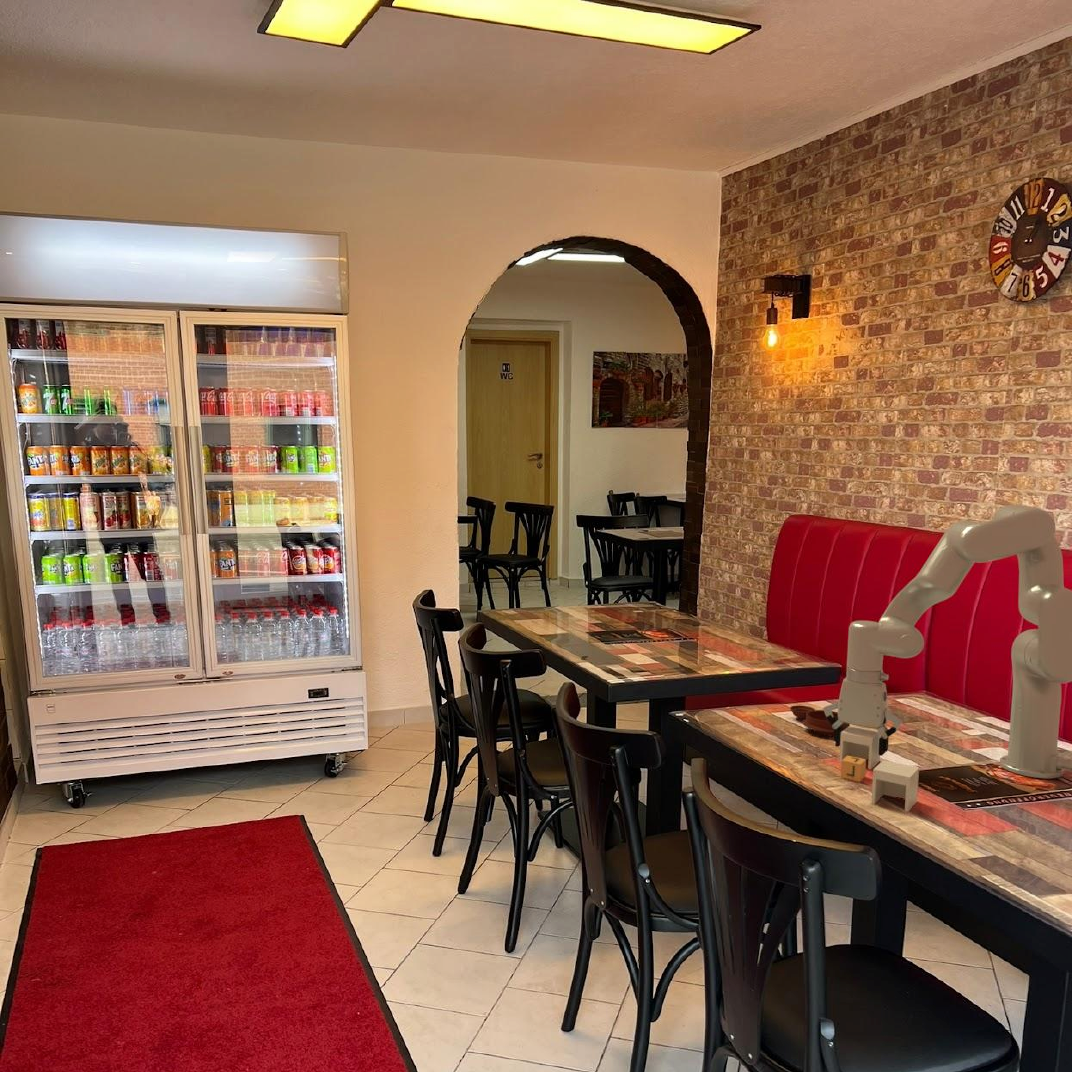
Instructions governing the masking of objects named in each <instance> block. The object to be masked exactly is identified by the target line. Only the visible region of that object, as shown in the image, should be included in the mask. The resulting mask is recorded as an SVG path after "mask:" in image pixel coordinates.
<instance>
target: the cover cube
mask: <svg viewBox="0 0 1072 1072" xmlns="http://www.w3.org/2000/svg"><path fill="white" fill-rule="evenodd" d="M880 738H881V735H880V733H879V732H878V731H877V729H873V728H868V727H863V726H857V725H852V724H850V726H849V727H848V728H846V729H845V730H843V731H842V732H841V738H840V746H839V764H842V760H843V759H844V758H845V757H846V756H847V755H848V756H853V757H857V758H862V759H866V760H868V761H867V762H868V763H867V764H868V765H867V769H868V770H873V769H874V768H875V767H876V765H878V764H879V762H880V761H881V756H880V755H879V754H878V753H879V739H880Z"/></svg>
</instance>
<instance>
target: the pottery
mask: <svg viewBox="0 0 1072 1072" xmlns="http://www.w3.org/2000/svg"><path fill="white" fill-rule="evenodd" d="M789 709H790V711H791V712H792V714H793V716H795V717H796V719H795V720H796V721H799V722H802V725H803V726H804V727H806V728H808V729H810V730H814V731H815V732H816V733H815V732H814V731H813V732H814V733H815V734H817V733H818V735H820V736H827V737H834V728H833V727H832V725H831V723H830V722H829V721H828V720H827V716H826V715H825V712H824V710H823V709H815V708H814V707H811V706H807V705H806V706H805V705H792V706H790V708H789ZM832 714H833V715H834V716H835V718H836V719H837V720H838V711H835V710H832ZM850 725H851V724H847V723H843V724H842V727H843V730H845V729H846V728H848V727H849V726H850Z"/></svg>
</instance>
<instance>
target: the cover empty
mask: <svg viewBox="0 0 1072 1072" xmlns="http://www.w3.org/2000/svg"><path fill="white" fill-rule="evenodd" d="M872 770H873V771H872V784H871V785H872V786H871V802H870V803H871V804H874V805H875V804H876V803H877V802H878V801H879V800H880V799H881V798H882V796H889V797H891V798H896V797H900V798H904V799H903V800H905V803H904V812H906V811H907V812H906V813H909V812H910V810H911V809H912V808H913V807H914V806H915V805H916V804H917V802H918V790H919V773H920V767H917V766H912V765H907V764H903V763H899V762H893V761H889V760H884V759H882V761H881V762H880V763H878V764H877V766H876V765H875V766H874V767H873V768H872ZM880 797H881V798H880ZM900 798H899V799H900ZM913 805H914V806H913ZM912 806H913V807H912Z"/></svg>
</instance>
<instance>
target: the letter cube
mask: <svg viewBox="0 0 1072 1072" xmlns="http://www.w3.org/2000/svg"><path fill="white" fill-rule="evenodd" d="M866 766H867V759H864V758H859V757H854V756H848V755H847V756H846V757H845V758H844V759H843V760H842V763H841V771H840V774H841V775H840V778H841V779H844V778H846V779H845V780H848V779H849V780H850V781H852V780H853V782H857V781H858V782H857V783H860V782H862V780H864V779H865V778H866V770H867V769H866V768H867V767H866Z"/></svg>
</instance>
